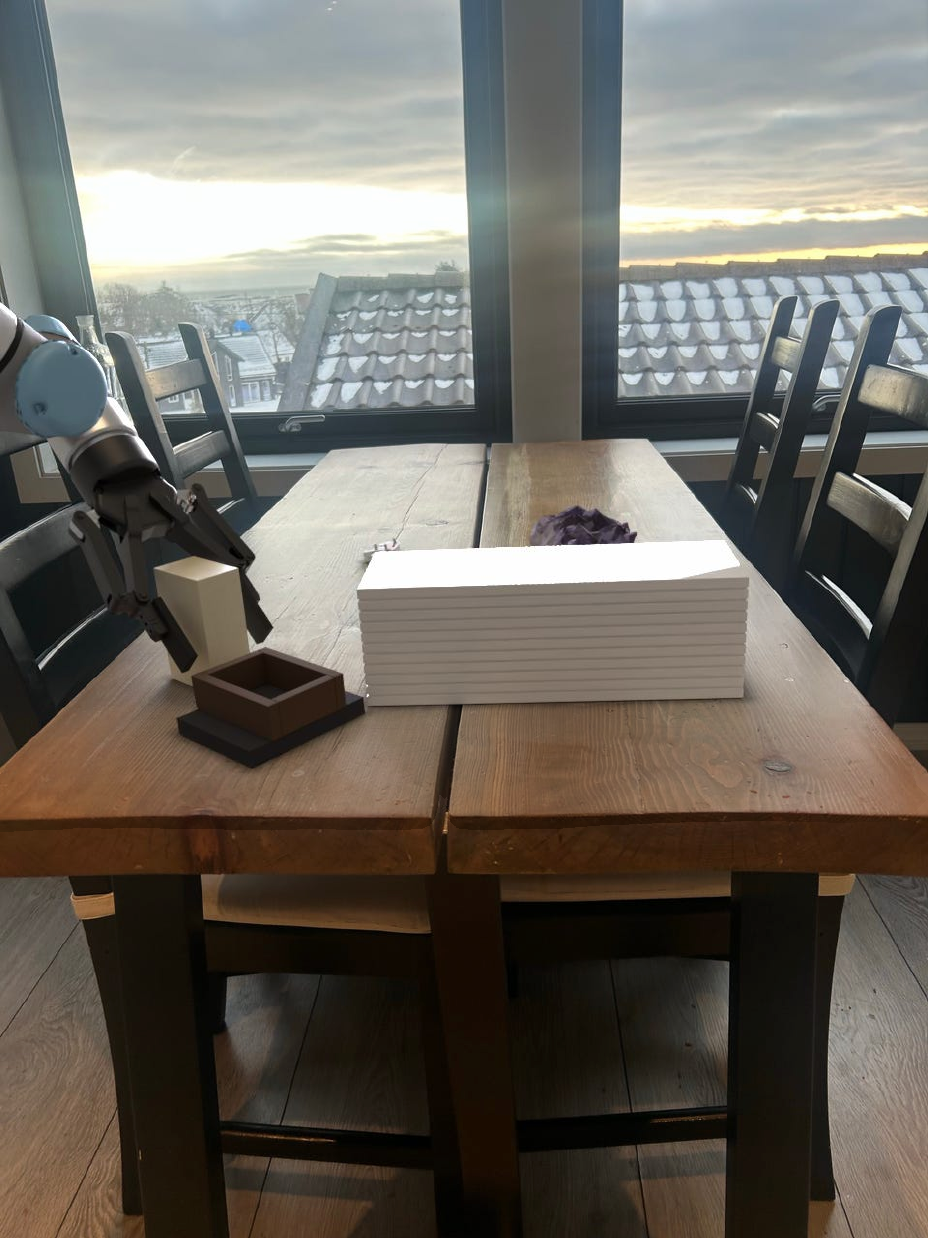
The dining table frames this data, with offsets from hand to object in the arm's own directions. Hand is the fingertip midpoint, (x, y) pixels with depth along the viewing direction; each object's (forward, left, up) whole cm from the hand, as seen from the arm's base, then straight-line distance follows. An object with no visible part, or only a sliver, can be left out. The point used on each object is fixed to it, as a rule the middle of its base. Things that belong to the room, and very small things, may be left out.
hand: (228, 649), depth 91 cm
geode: (+40, +9, -4) cm, 41 cm away
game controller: (+25, +31, -4) cm, 40 cm away
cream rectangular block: (-2, +3, -4) cm, 5 cm away
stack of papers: (+27, -10, -4) cm, 29 cm away
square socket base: (+2, -9, -4) cm, 10 cm away
